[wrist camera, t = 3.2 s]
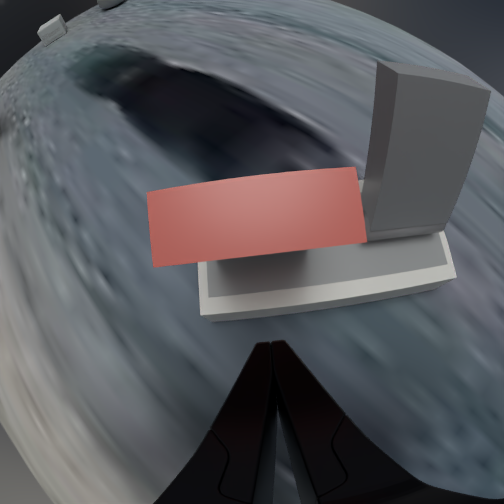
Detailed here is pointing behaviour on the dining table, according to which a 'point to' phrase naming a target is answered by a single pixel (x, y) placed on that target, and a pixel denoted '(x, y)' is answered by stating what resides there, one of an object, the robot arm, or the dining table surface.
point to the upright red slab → (255, 216)
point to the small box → (52, 30)
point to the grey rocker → (419, 148)
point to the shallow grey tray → (323, 277)
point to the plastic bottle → (108, 3)
